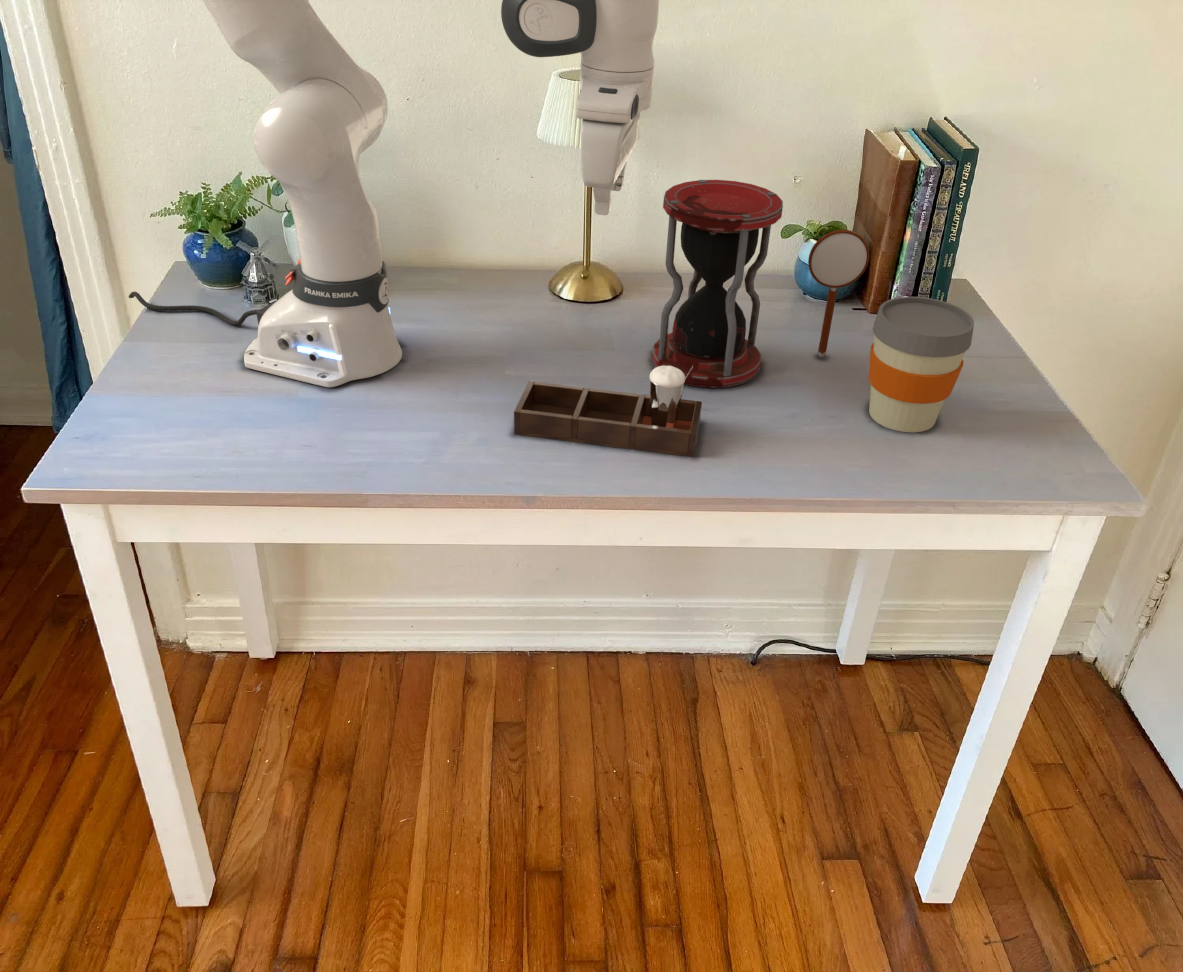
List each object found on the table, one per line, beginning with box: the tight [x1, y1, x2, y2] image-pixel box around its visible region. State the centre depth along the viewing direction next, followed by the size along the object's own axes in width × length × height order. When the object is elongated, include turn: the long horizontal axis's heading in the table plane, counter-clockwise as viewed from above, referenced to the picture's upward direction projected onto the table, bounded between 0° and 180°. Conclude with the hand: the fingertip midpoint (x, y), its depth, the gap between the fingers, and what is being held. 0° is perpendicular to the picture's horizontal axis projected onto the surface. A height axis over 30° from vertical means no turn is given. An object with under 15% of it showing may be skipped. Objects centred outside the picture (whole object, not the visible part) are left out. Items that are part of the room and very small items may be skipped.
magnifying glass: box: [807, 229, 870, 358], centre depth 146 cm, size 9×2×20 cm, turn 91°
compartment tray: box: [513, 380, 703, 458], centre depth 132 cm, size 24×8×4 cm, turn 80°
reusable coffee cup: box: [867, 296, 975, 433], centre depth 134 cm, size 13×13×15 cm
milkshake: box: [649, 366, 693, 428], centre depth 128 cm, size 4×5×10 cm
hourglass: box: [651, 179, 784, 389], centre depth 142 cm, size 16×16×25 cm
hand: (609, 200), depth 129 cm, fingers open, 8 cm apart
